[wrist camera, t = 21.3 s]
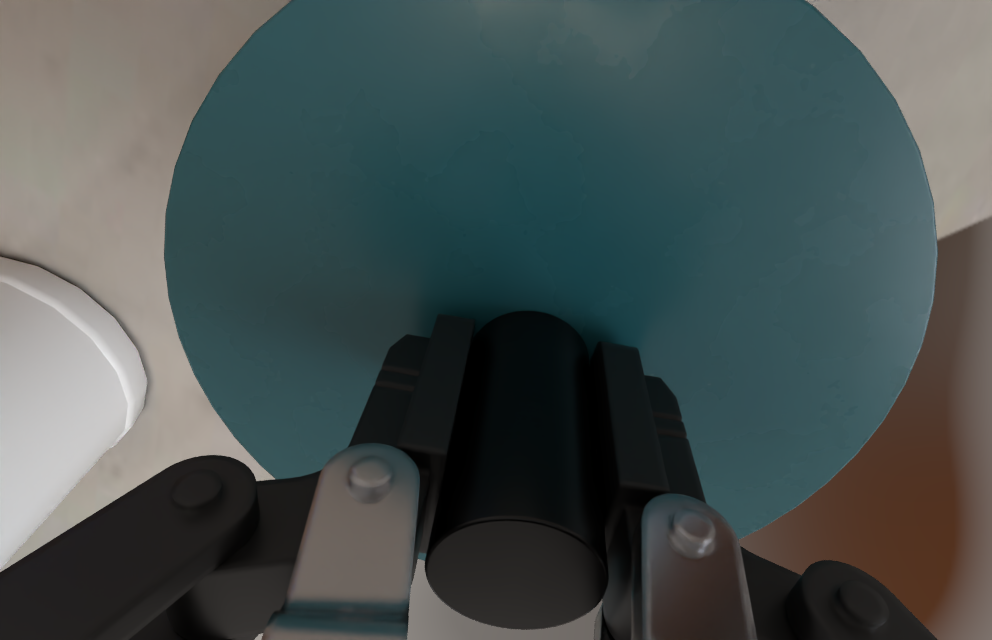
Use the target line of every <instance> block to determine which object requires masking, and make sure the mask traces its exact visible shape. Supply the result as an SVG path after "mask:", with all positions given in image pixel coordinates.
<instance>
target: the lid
mask: <svg viewBox="0 0 992 640" xmlns="http://www.w3.org/2000/svg"><path fill="white" fill-rule="evenodd" d="M937 256H938V248H937V236H936V225H935V213H934V202H933V198H932V194H931V190H930V187H929V183H928V179H927V176H926V172H925V168H924V165H923V161H922V157H921V154H920V150H919V148H918V146H917V144H916V141H915V139H914V137H913V135H912V133H911V131H910V129H909V127H908V125H907V123H906V120H905V118H904V116H903V114H902V112H901V110H900V108H899V106H898V104H897V102H896V100H895V98H894V97H893V95H892V94H891V92H890V91H889V90H888V88H887V87H886V86H885V84H884V83H883V81H882V80H881V79H880V77H879V76H878V75H877V73H876V72H875V70H874V69H873V68H872V66H871V65H870V63H869V62H868V61H867V59H866V58H865V57H864V55H863V54H862V52H861V51H860V50H859V49H858V48H857V47H856V46H855V45H854V44H853V43H852V42H851V41H850V40H849V39H848V38H847V37H846V36H844V35H843V34H842V33H841V32H840V31H839V30H838V29H837V28H836V27H835V26H834V25H833V24H832V23H831V22H830V21H829V20H828V19H827V18H826V17H825V16H824V15H823V14H822V13H821V12H820V11H819V10H817V9H816V8H815V7H814V6H813V5H811V4H810V3H808V2H807V1H805V0H291V1H290V2H289V3H288V4H287V5H285V6H284V7H283V8H282V9H281V10H280V11H278V12H277V13H276V14H275V15H274V16H273V17H271V18H270V19H269V20H268V21H267V22H266V23H264V24H263V25H262V26H261V27H260V28H259V29H257V30H256V31H255V32H254V33H253V34H252V36H251V37H250V38H249V39H248V40H247V42H246V43H245V44H244V45H243V46H242V48H241V49H240V50H239V51H238V52H237V54H236V55H235V56H234V57H233V58H232V60H231V61H230V62H229V63H228V64H227V66H226V67H225V68H224V69H223V70H222V72H221V73H220V74H219V75H218V77H217V79H216V80H215V82H214V84H213V86H212V87H211V89H210V91H209V92H208V94H207V96H206V98H205V99H204V101H203V103H202V104H201V106H200V108H199V110H198V111H197V113H196V115H195V117H194V118H193V120H192V123H191V125H190V128H189V130H188V133H187V136H186V138H185V141H184V144H183V146H182V149H181V152H180V154H179V157H178V160H177V162H176V165H175V169H174V174H173V179H172V184H171V189H170V194H169V199H168V204H167V209H166V218H165V244H164V261H165V270H166V278H167V287H168V296H169V301H170V305H171V309H172V313H173V316H174V320H175V324H176V328H177V332H178V336H179V339H180V341H181V344H182V346H183V349H184V351H185V353H186V356H187V358H188V361H189V363H190V366H191V368H192V370H193V373H194V375H195V377H196V378H197V380H198V382H199V384H200V386H201V387H202V389H203V391H204V393H205V394H206V396H207V398H208V400H209V401H210V403H211V405H212V407H213V408H214V410H215V411H216V412H217V414H218V415H219V416H220V418H221V419H222V421H223V422H224V423H225V425H226V426H227V427H228V429H229V430H230V432H231V433H232V434H233V436H234V437H235V438H236V439H237V440H238V441H239V443H240V444H241V445H242V446H243V447H244V448H245V449H246V450H247V451H248V452H249V454H250V455H251V456H252V457H253V458H254V459H255V460H256V461H257V462H258V463H259V464H260V465H261V466H262V467H263V468H264V469H265V470H266V471H267V472H268V473H270V474H271V475H272V476H273V477H274V478H275V479H285V478H294V477H301V476H305V475H309V474H312V473H315V472H317V471H320V470H322V469H323V467H324V466H325V464H326V463H327V462H328V461H329V459H330V458H331V457H333V456H334V455H335V454H337V453H338V452H340V451H342V450H343V449H345V448H348V446H349V444H350V442H351V439H352V437H353V434H354V432H355V430H356V427H357V425H358V422H359V420H360V417H361V415H362V413H363V410H364V408H365V405H366V403H367V401H368V398H369V396H370V393H371V391H372V389H373V386H375V381H376V379H377V377H378V374H379V372H380V370H381V368H382V364H383V362H384V360H385V357H386V355H387V352H388V350H389V348H390V347H391V346H392V345H394V344H395V343H396V342H397V341H399V340H400V339H401V338H402V337H404V336H405V335H406V334H409V335H415V336H421V337H427V338H430V337H431V334H432V331H433V328H434V325H435V322H436V319H437V316H438V314H439V313H440V314H445V315H451V316H457V317H463V318H469V319H475V327H474V333H473V340H472V346H471V351H470V356H469V360H468V365H467V370H466V375H465V380H464V385H463V390H462V394H461V399H460V404H459V409H458V414H457V419H456V423H455V428H454V433H453V438H452V443H451V448H450V453H449V457H448V462H447V467H446V472H445V477H444V482H443V487H442V491H441V495H440V497H439V499H438V502H437V506H436V511H435V515H434V520H433V525H432V530H431V534H430V539H429V544H428V549H427V553H426V554H425V553H419V555H418V559H421V560H424V561H425V572H426V577H427V580H428V582H429V585H430V587H431V588H432V590H433V592H434V593H435V594H436V595H437V596H438V598H440V599H441V600H442V601H443V602H444V603H445V604H446V605H447V606H449V607H450V608H451V609H453V610H455V611H456V612H458V613H460V614H462V615H464V616H466V617H468V618H470V619H472V620H475V621H478V622H481V623H484V624H488V625H491V626H496V627H501V628H508V629H521V630H525V629H526V630H530V629H544V628H550V627H556V626H559V625H563V624H566V623H569V622H571V621H574V620H576V619H578V618H580V617H582V616H584V615H586V614H587V613H589V612H590V611H591V610H592V609H593V608H595V607H596V606H597V605H598V603H599V602H600V601H601V599H602V598H603V596H604V594H605V592H606V589H607V586H608V580H609V573H608V562H607V551H606V540H605V529H604V518H603V507H602V497H601V486H600V475H599V464H598V453H597V442H596V431H595V420H594V409H593V398H592V387H591V376H590V363H591V360H592V356H593V353H594V350H595V347H596V345H597V343H598V342H599V341H601V342H607V343H613V344H619V345H625V346H631V347H636V348H638V350H639V354H640V358H641V363H642V367H643V372H644V375H647V376H653V377H659V378H661V379H662V380H663V381H664V383H665V384H666V385H667V386H668V388H669V389H670V390H671V391H672V392H673V394H674V395H675V396H676V398H677V401H678V405H679V408H680V412H681V415H682V422H684V426H685V429H686V433H687V437H686V438H687V439H688V440H689V444H690V447H691V451H692V454H693V458H694V461H695V465H696V468H697V472H698V475H699V479H700V482H701V486H702V490H703V493H704V497H705V500H706V504H708V505H709V506H711V507H712V508H714V509H715V510H716V511H718V512H719V513H720V514H721V515H722V516H723V517H724V518H725V519H726V520H727V522H728V523H729V524H730V525H731V527H732V528H733V530H734V531H735V533H736V535H737V538H738V540H739V539H741V538H743V537H745V536H747V535H749V534H751V533H753V532H755V531H757V530H759V529H761V528H763V527H765V526H766V525H768V524H770V523H771V522H773V521H774V520H776V519H777V518H779V517H781V516H782V515H784V514H786V513H787V512H789V511H790V510H792V509H794V508H795V507H797V506H798V505H799V504H801V503H802V502H803V501H804V500H806V499H807V498H808V497H810V496H811V495H812V494H813V493H815V492H816V491H817V490H819V489H820V488H821V487H822V486H824V485H825V484H826V483H828V482H829V481H830V480H831V479H832V478H833V477H834V476H835V475H836V474H837V473H838V472H839V471H840V470H841V469H842V468H843V467H844V466H845V465H846V464H847V463H848V462H849V461H850V460H851V459H852V458H853V457H854V456H855V455H856V454H857V453H858V452H859V450H860V449H861V448H862V447H863V446H864V444H865V443H866V442H867V441H868V439H869V438H870V437H871V436H872V434H873V433H874V432H875V431H876V429H877V428H878V427H879V426H880V424H881V423H882V422H883V421H884V419H885V417H886V416H887V414H888V412H889V411H890V409H891V407H892V406H893V404H894V402H895V401H896V399H897V397H898V395H899V394H900V392H901V391H902V389H903V387H904V386H905V384H906V382H907V379H908V377H909V375H910V372H911V370H912V367H913V365H914V363H915V360H916V358H917V356H918V353H919V351H920V349H921V346H922V344H923V340H924V336H925V332H926V328H927V324H928V320H929V316H930V312H931V308H932V305H933V301H934V291H935V280H936V267H937Z"/></svg>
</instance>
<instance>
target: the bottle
mask: <svg viewBox="0 0 992 640" xmlns="http://www.w3.org/2000/svg"><path fill="white" fill-rule="evenodd" d="M146 387H147V377H146V374H145V371H144V368H143V365H142V362H141V359H140V355H139V352H138V350H137V348H136V347H135V346H134V344H133V343H132V341H131V340H130V339H129V337H128V336H127V335H126V333H125V332H124V330H123V329H122V328H121V326H120V325H119V323H118V322H117V321H116V319H115V318H114V317H113V316H112V315H110V314H109V313H108V312H107V311H106V310H105V309H103V308H102V307H101V306H100V305H99V304H98V303H96V302H95V301H94V300H93V299H92V298H90V297H89V296H88V295H87V294H86V293H85V292H83V291H82V290H81V289H80V288H78V287H76V286H74V285H72V284H70V283H69V282H67V281H65V280H63V279H61V278H59V277H57V276H55V275H53V274H51V273H50V272H48V271H46V270H44V269H42V268H40V267H38V266H35V265H31V264H27V263H23V262H19V261H15V260H12V259H8V258H4V257H0V570H1V568H2V567H3V566H4V565H5V564H6V563H7V562H8V561H9V559H10V558H11V557H12V556H13V555H14V554H15V553H16V552H17V551H18V550H19V548H20V547H21V546H22V545H23V544H24V543H25V542H26V541H27V540H28V539H29V537H30V536H31V535H32V534H33V533H34V532H35V531H36V530H37V529H38V527H39V526H40V525H41V524H42V523H43V522H44V521H45V520H46V519H47V517H48V516H49V515H50V514H51V513H52V512H53V511H54V510H55V508H56V507H57V506H58V505H59V504H60V503H61V502H62V501H63V499H64V498H65V497H66V496H67V495H68V494H69V493H70V492H71V490H72V489H73V488H74V487H75V486H76V485H77V484H78V483H79V481H80V480H81V479H82V478H83V477H84V476H85V475H86V474H87V472H88V471H89V470H90V469H91V468H92V467H93V466H94V465H95V463H96V462H97V461H98V460H99V459H100V458H101V457H102V456H103V455H104V453H105V452H106V451H107V450H108V449H110V448H113V447H114V446H115V445H116V444H117V443H118V442H119V441H120V439H121V438H122V437H123V436H124V435H125V434H126V433H127V431H128V430H129V429H130V428H131V427H132V426H133V424H134V422H135V421H136V419H137V418H138V416H139V414H140V413H141V411H142V410H143V407H144V401H145V394H146Z"/></svg>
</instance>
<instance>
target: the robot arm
mask: <svg viewBox="0 0 992 640" xmlns="http://www.w3.org/2000/svg"><path fill="white" fill-rule="evenodd" d="M474 327H475V319H469V318H463V317H457V316H451V315H445V314H440V313H439V314H438V316H437V319H436V322H435V325H434V328H433V331H432V334H431V337H430V338H427V337H421V336H415V335H409V334H406V335H405V336H404V337H402V338H401V339H400V340H399V341H397V342H396V343H395V344H394V345H392V346H391V347H390V348H389V350H388V352H387V355H386V357H385V360H384V362H383V364H382V368H381V370H380V372H379V374H378V377H377V379H376V381H375V386H373V389H372V391H371V393H370V396H369V398H368V401H367V403H366V405H365V408H364V410H363V413H362V415H361V417H360V420H359V422H358V425H357V427H356V430H355V432H354V434H353V437H352V439H351V442H350V444H349V446H348V448H345V449H343V450H342V451H340V452H338V453H337V454H335V455H334V456H333V457H331V458H330V459H329V461H328V462H327V463H326V464H325V466H324V467H323V469H322V470H320V471H317V472H315V473H312V474H309V475H305V476H301V477H294V478H285V479H275V480H265V481H256V479H255V476H254V474H253V473H252V471H251V470H250V468H249V467H247V466H246V465H245V464H244V463H242V462H240V461H239V460H236V459H233V458H231V457H226V456H218V455H207V456H199V457H193V458H190V459H187V460H183V461H181V462H178V463H176V464H174V465H172V466H170V467H168V468H166V469H165V470H163V471H161V472H160V473H158V474H157V475H155V476H153V477H152V478H150V479H149V480H147V481H145V482H144V483H142V484H141V485H139V486H137V487H136V488H134V489H133V490H131V491H129V492H128V493H126V494H125V495H123V496H121V497H120V498H118V499H117V500H115V501H113V502H112V503H110V504H109V505H107V506H105V507H104V508H102V509H101V510H99V511H98V512H96V513H94V514H93V515H91V516H90V517H88V518H86V519H85V520H83V521H82V522H80V523H78V524H77V525H75V526H74V527H72V528H70V529H69V530H67V531H66V532H64V533H62V534H61V535H59V536H58V537H56V538H54V539H53V540H51V541H50V542H48V543H46V544H45V545H43V546H42V547H40V548H38V549H37V550H35V551H34V552H32V553H30V554H29V555H27V556H26V557H24V558H22V559H21V560H19V561H18V562H16V563H15V564H13V565H11V566H10V567H8V568H7V569H5V570H3V571H2V572H0V640H254V639H255V638H256V637H257V636H258V634H261V633H263V636H262V640H407V632H408V617H409V616H408V612H409V600H410V588H411V584H412V581H413V578H414V573H415V569H416V564H417V559H418V555H419V553H425V554H426V553H427V549H428V544H429V539H430V534H431V530H432V525H433V520H434V515H435V511H436V506H437V502H438V499H439V497H440V495H441V491H442V487H443V482H444V477H445V472H446V467H447V462H448V457H449V453H450V448H451V443H452V438H453V433H454V428H455V423H456V419H457V414H458V409H459V404H460V399H461V394H462V390H463V385H464V380H465V375H466V370H467V365H468V360H469V356H470V351H471V346H472V340H473V333H474ZM590 376H591V387H592V398H593V409H594V420H595V431H596V442H597V453H598V464H599V475H600V486H601V497H602V507H603V518H604V529H605V540H606V551H607V562H608V573H609V580H608V586H607V589H606V592H605V594H604V596H603V598H602V599H603V600H602V601H603V603H602V605H601V607H600V610H599V612H598V615H597V617H596V621H595V629H594V640H937V639H936V638H935V637H934V635H933V634H932V633H931V632H929V630H928V629H927V628H926V627H925V626H924V625H923V624H922V623H921V622H920V621H919V620H918V619H917V618H916V617H915V616H914V615H913V614H912V613H911V612H910V611H909V610H908V609H907V608H906V607H905V606H904V605H903V604H902V603H901V602H900V601H899V600H898V599H897V598H896V597H895V595H894V594H893V593H891V592H890V591H889V590H888V589H887V588H886V587H885V586H884V585H883V584H881V583H880V582H879V581H878V580H876V579H875V578H873V577H872V576H870V575H869V574H867V573H866V572H864V571H862V570H860V569H858V568H856V567H854V566H851V565H849V564H846V563H842V562H838V561H832V560H824V561H818V562H815V563H814V564H811V565H810V566H809V567H808V568H807V569H806V570H805V572H804V573H803V574H802V576H801V575H799V574H797V573H795V572H792V571H790V570H788V569H786V568H784V567H781V566H779V565H777V564H775V563H772V562H770V561H768V560H765V559H763V558H761V557H759V556H756V555H755V554H753V553H751V552H749V551H747V550H746V549H744V548H743V547H741V546H740V544H739V540H738V538H737V535H736V533H735V531H734V530H733V528H732V527H731V525H730V524H729V523H728V522H727V520H726V519H725V518H724V517H723V516H722V515H721V514H720V513H719V512H718V511H716V510H715V509H714V508H712V507H711V506H709V505H708V504H706V500H705V497H704V493H703V490H702V486H701V482H700V479H699V475H698V472H697V468H696V465H695V461H694V458H693V454H692V451H691V447H690V444H689V440H688V439H687V438H686V437H687V433H686V429H685V426H684V422H682V415H681V412H680V408H679V405H678V401H677V398H676V396H675V395H674V394H673V392H672V391H671V390H670V389H669V388H668V386H667V385H666V384H665V383H664V381H663V380H662V379H661V378H659V377H653V376H647V375H644V372H643V367H642V363H641V358H640V354H639V350H638V348H636V347H631V346H625V345H619V344H613V343H607V342H601V341H599V342H598V343H597V345H596V347H595V350H594V353H593V356H592V360H591V363H590Z"/></svg>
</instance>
